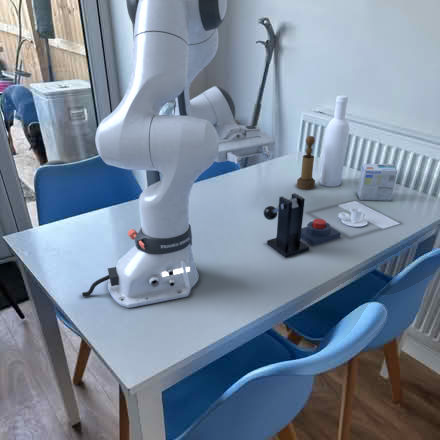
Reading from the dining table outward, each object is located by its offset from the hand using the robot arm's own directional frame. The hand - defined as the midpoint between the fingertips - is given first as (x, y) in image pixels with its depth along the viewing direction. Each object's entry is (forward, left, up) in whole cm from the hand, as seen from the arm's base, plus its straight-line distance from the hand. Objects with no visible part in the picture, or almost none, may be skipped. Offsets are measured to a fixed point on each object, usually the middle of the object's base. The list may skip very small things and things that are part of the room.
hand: (253, 158), depth 123 cm
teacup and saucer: (+28, -15, -20) cm, 38 cm away
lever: (-1, -16, -12) cm, 20 cm away
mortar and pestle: (+32, +14, -20) cm, 41 cm away
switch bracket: (-1, -20, -20) cm, 28 cm away
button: (+11, -19, -16) cm, 27 cm away
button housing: (+11, -19, -20) cm, 29 cm away
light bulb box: (+46, -6, -20) cm, 51 cm away
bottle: (+42, +12, -20) cm, 48 cm away
